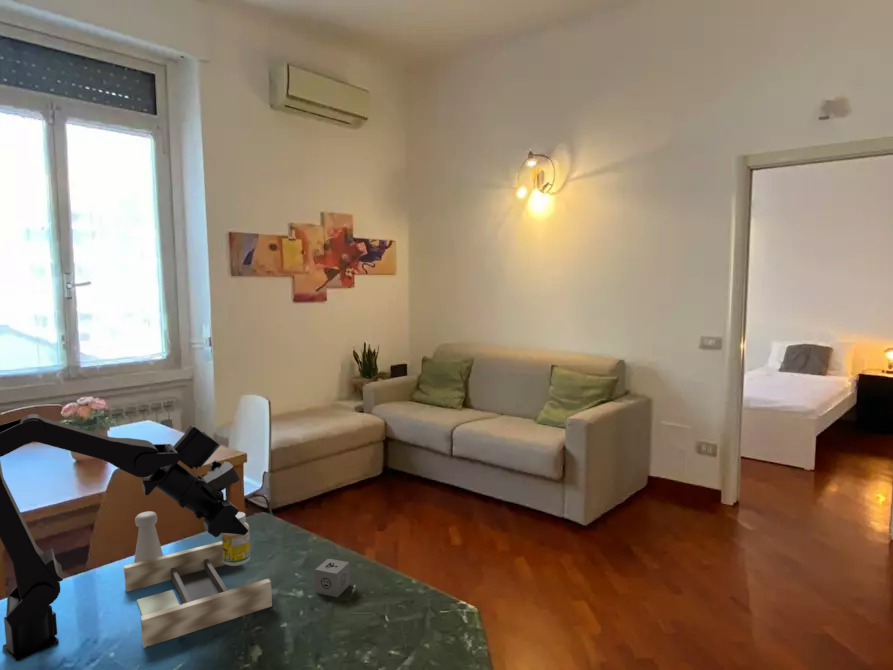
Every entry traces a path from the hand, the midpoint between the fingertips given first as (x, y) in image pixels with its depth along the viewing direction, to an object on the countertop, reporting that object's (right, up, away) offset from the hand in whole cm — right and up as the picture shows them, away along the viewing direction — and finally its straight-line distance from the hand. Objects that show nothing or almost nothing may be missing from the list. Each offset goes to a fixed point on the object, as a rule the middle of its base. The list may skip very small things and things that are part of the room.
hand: (242, 527), depth 124 cm
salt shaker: (-22, -12, +7) cm, 26 cm away
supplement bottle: (-1, -7, 0) cm, 7 cm away
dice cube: (+19, -12, -1) cm, 23 cm away
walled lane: (-7, -12, -4) cm, 15 cm away
